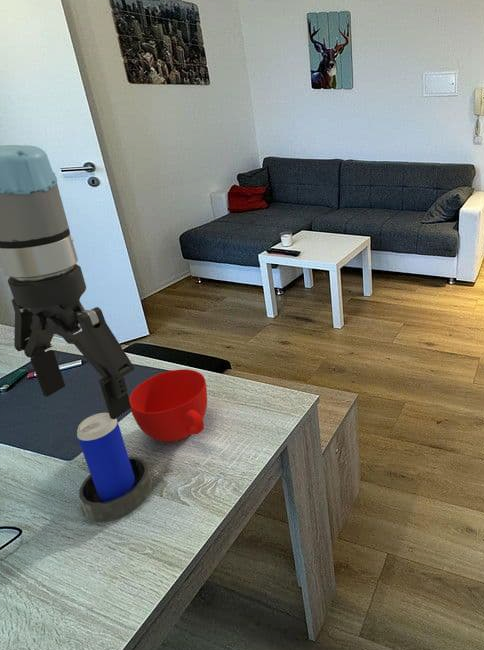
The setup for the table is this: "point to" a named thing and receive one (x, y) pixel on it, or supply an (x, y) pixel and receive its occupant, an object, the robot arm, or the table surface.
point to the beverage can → (106, 456)
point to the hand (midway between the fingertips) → (86, 401)
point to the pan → (120, 504)
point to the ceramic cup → (170, 405)
